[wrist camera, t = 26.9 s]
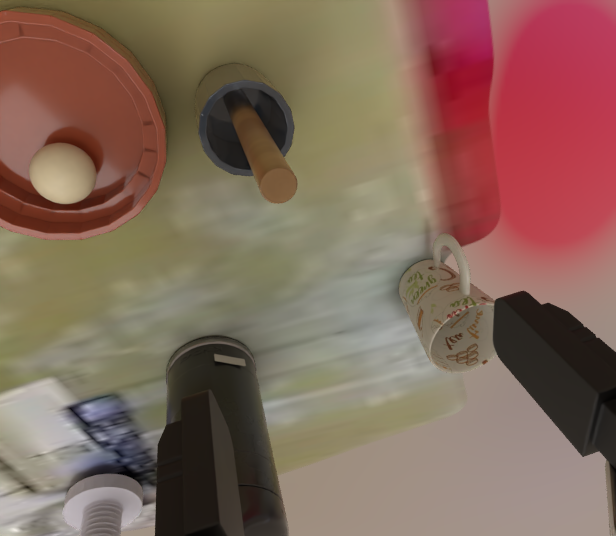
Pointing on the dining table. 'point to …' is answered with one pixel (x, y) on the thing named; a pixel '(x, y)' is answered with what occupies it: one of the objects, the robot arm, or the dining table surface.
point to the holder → (218, 124)
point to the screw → (103, 504)
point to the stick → (260, 150)
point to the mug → (449, 311)
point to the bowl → (75, 123)
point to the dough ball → (62, 173)
